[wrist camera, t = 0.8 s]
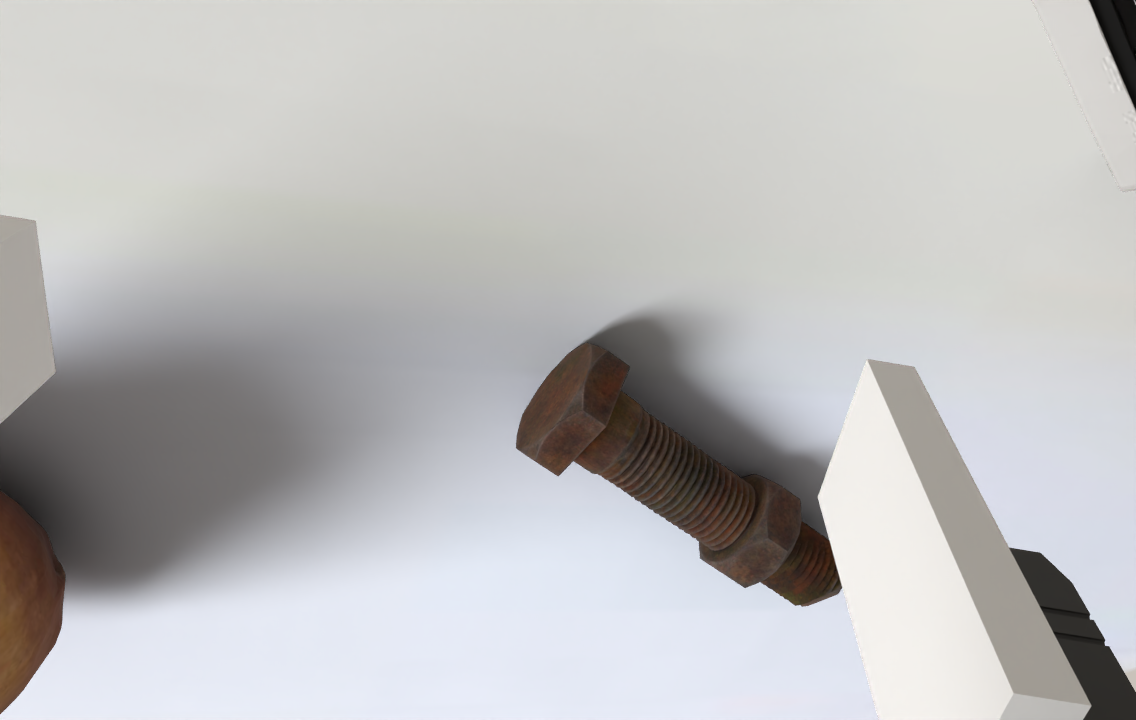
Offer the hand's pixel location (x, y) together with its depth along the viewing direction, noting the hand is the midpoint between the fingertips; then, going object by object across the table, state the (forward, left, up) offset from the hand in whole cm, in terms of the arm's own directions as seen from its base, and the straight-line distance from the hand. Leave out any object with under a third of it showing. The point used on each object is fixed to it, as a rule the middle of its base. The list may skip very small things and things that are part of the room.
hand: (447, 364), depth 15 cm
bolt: (+15, +8, -22) cm, 28 cm away
